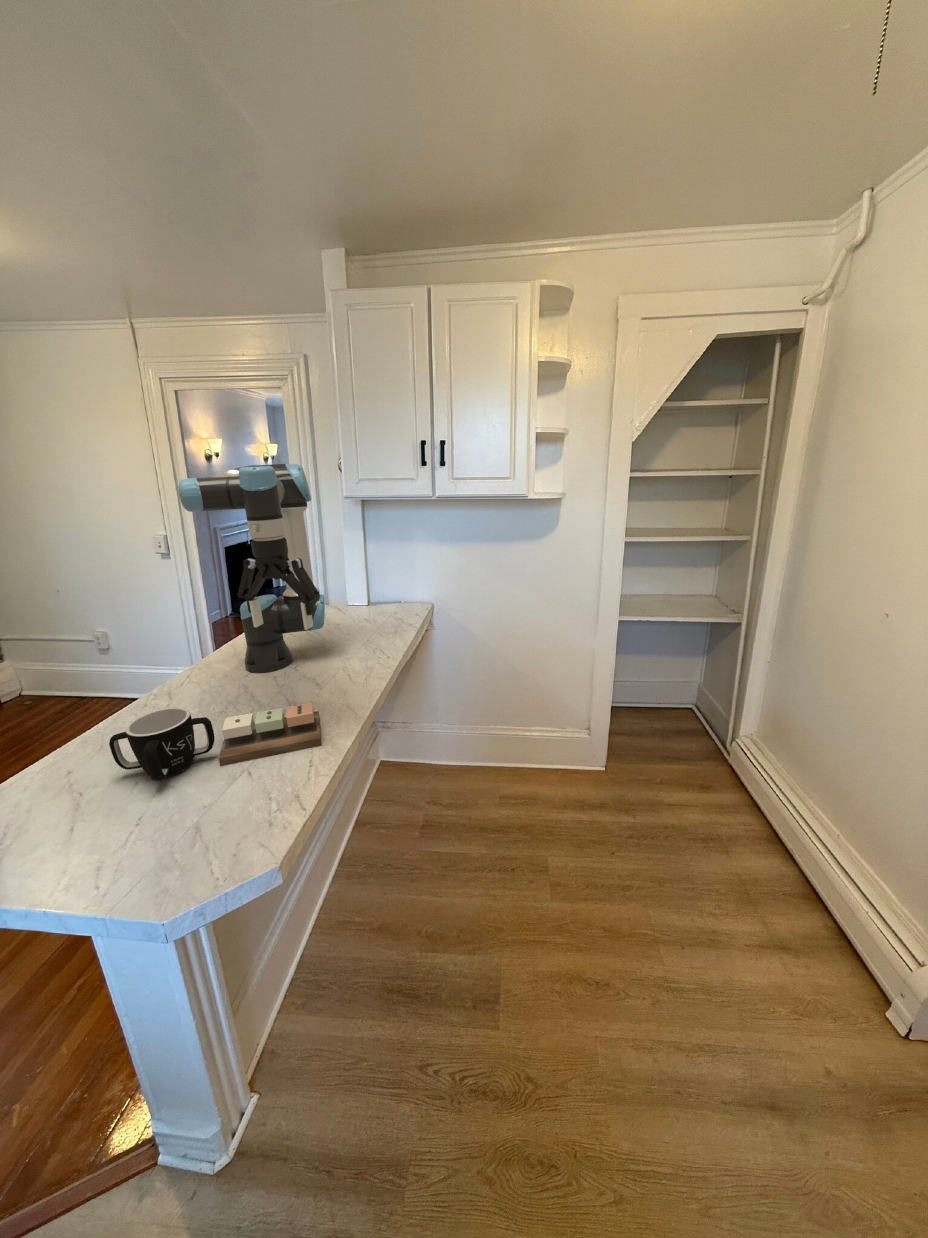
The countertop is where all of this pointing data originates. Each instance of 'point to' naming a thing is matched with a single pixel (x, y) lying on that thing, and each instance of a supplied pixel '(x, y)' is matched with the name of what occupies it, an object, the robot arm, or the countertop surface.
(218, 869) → the countertop surface
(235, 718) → the key
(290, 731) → the board
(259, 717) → the key
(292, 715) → the key
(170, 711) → the mug
